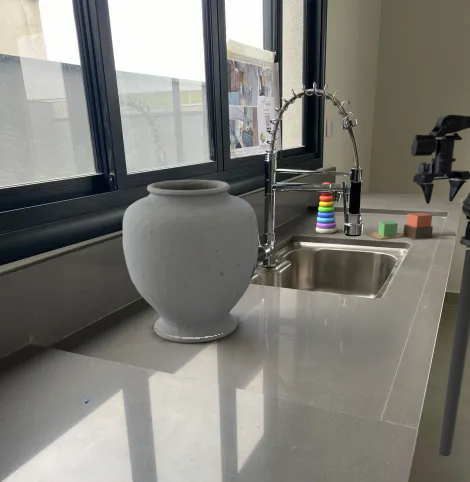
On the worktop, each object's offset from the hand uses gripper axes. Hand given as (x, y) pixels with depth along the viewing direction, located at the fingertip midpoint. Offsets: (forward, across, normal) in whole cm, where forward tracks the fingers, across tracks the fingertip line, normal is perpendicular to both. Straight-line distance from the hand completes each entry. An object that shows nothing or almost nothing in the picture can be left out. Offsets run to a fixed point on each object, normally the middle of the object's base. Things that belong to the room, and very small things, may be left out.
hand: (439, 202), depth 171 cm
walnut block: (+13, +3, -6) cm, 15 cm away
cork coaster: (+13, +12, -13) cm, 22 cm away
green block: (+12, +12, -12) cm, 21 cm away
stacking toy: (+13, +29, -27) cm, 42 cm away
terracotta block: (+9, +3, -6) cm, 11 cm away
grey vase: (+12, +97, +50) cm, 110 cm away
